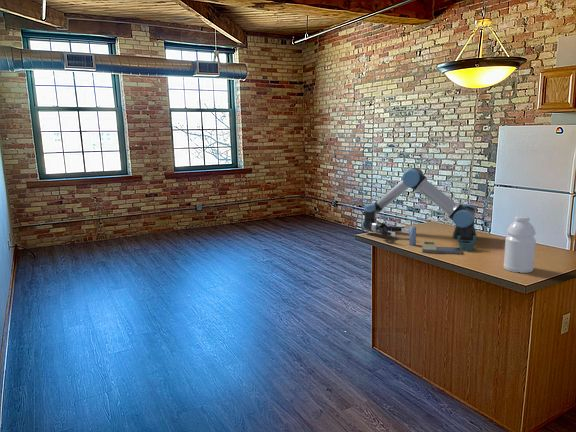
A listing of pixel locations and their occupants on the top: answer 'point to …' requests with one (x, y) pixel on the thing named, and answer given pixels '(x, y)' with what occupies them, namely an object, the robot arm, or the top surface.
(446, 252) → the rail
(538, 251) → the top surface
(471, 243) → the bracket
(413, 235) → the peg
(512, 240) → the bottle
